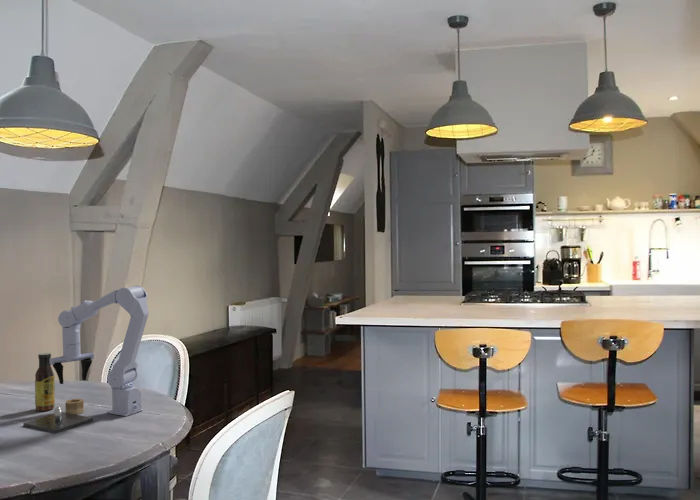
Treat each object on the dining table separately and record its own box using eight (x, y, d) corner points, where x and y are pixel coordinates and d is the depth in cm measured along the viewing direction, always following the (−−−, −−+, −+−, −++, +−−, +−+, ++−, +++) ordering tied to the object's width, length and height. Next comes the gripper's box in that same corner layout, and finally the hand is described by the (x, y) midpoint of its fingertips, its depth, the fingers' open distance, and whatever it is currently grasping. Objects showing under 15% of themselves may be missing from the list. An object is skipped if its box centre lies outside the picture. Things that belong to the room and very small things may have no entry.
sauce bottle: (47, 412, 221) (45, 355, 220) (31, 411, 222) (29, 355, 221) (59, 407, 227) (57, 352, 226) (44, 406, 228) (42, 351, 228)
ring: (87, 411, 221) (86, 399, 221) (73, 415, 216) (73, 403, 216) (76, 409, 224) (76, 398, 224) (62, 413, 219) (62, 402, 219)
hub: (92, 420, 210) (92, 404, 210) (55, 432, 198) (55, 415, 197) (61, 414, 217) (60, 399, 217) (23, 426, 205) (22, 409, 205)
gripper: (89, 339, 231) (90, 376, 231) (46, 344, 222) (48, 383, 222) (95, 342, 226) (96, 379, 226) (52, 347, 216) (53, 386, 217)
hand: (72, 381), depth 224 cm, fingers open, 7 cm apart
